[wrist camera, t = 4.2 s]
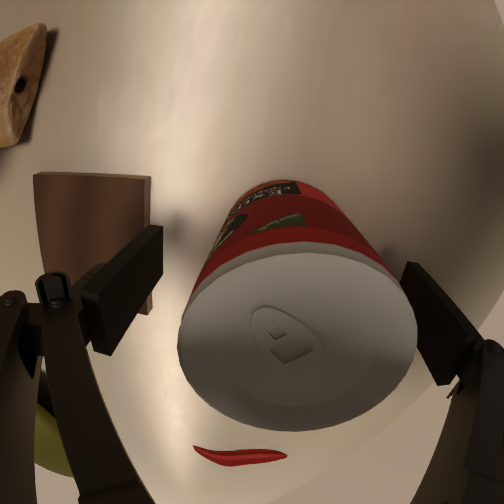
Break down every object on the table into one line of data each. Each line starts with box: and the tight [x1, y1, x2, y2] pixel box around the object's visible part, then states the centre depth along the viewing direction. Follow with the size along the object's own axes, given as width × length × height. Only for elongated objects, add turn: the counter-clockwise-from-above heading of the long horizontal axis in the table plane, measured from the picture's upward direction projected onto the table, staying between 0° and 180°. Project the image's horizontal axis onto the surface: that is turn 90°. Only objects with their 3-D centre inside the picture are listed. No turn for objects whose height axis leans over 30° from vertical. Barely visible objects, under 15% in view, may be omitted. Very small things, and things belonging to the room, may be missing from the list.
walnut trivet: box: [33, 172, 152, 315], centre depth 19 cm, size 10×10×1 cm
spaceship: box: [34, 403, 74, 477], centre depth 28 cm, size 35×31×10 cm
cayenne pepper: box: [193, 446, 287, 467], centre depth 29 cm, size 12×5×2 cm, turn 79°
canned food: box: [177, 180, 417, 432], centre depth 13 cm, size 8×8×11 cm
